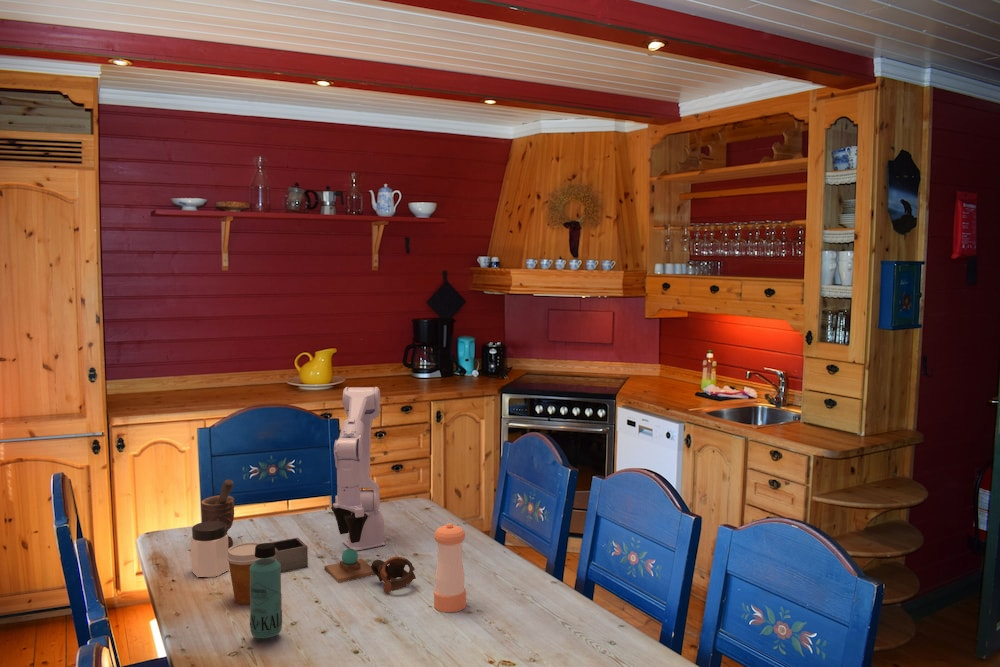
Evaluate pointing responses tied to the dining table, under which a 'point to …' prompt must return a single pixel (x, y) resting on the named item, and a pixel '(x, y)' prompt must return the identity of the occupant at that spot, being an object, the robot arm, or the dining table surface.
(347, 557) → the ball
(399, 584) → the pottery mug
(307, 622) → the dining table surface
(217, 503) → the mortar and pestle
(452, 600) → the salt shaker
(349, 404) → the robot arm
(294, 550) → the open box
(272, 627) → the beverage bottle
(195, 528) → the jar
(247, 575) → the disposable coffee cup
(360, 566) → the stand
